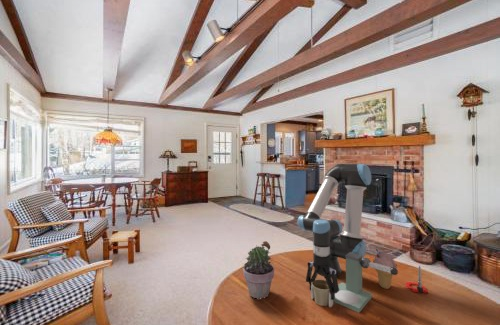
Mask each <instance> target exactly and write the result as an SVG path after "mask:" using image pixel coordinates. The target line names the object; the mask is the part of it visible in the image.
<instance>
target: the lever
mask: <svg viewBox="0 0 500 325" xmlns="http://www.w3.org/2000/svg"><path fill="white" fill-rule="evenodd" d="M360 265H361V266H362V269H368V268H372V269H374V270H375V269H378V270H382V271H385V272H389V273H391V274H392V276H397V275H398V273H399V271H398V269H397V268H395V267H388V266H384V265H381V264H377V263H373V261H371V260H370V258H368V257H364V258H363V259H362V260H361V261H360Z"/></svg>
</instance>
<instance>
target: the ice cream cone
mask: <svg viewBox="0 0 500 325" xmlns="http://www.w3.org/2000/svg"><path fill="white" fill-rule="evenodd" d="M375 251H376V252H377V253H376V254H375V256H374V259H373V261H372V262H373V263H377V264H381V265H384V266H388V267H395V268H396V269H397V268H398V266H397V262H396V261H395V259H393V257H395V256H394V255H392V254H390V253H387V252H382V251H381V252H380V251H379V249H377V248H376V249H375ZM374 271H376V273H377V279H378V284H379V286H380V287H381V288H383V289H387V290H388V289H390V288H391V287H392V286H391V285H392V281H393V280H392V279H393V275H392V274H391V273H389V272H385V271H382V270H378V269H375V268H374Z"/></svg>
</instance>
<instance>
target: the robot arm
mask: <svg viewBox="0 0 500 325" xmlns="http://www.w3.org/2000/svg"><path fill="white" fill-rule="evenodd" d="M371 182H372V172H371V169H370V167H369V166H368V164H364V163H363V164H362V163H339V164H336V165H334V166H332V167H331V168H329V169H328V171H327V172H326V173H325V174H324V176H323V178H322V183H321V185H320V186H319V189H318V191H317V193H316V194H315V196H314V198H313V200H312V201H311V204H310V206H309V207H308V209H307V212H306V213H305V215H303V214H301V215H299V217H298V218H297V222H296V223H297V227H298V228H299V229H300V230H303V231H306V232H310V233H311V232H312V235H313V236H312V237H313V238H312V240H313V242H312V245H313V246H312V247H313V248H312V249H313V254H312V255H313V256H312V259H313V261H312V260H310V261H308V262H307V270H306V277H305V282H306V283H308V284H309V291H310V299H312V300H315V297H314V290H313V286H312V282H313V281H314V280H316V279H317V276H318V275H321V276H323V278H324V280H326V282H327V284H328V287H329V289H330V292H329V304H328V308H332V307H333V306H334V302H333V300H334V299H335V293H337V292H338V291H339V287H338V285H339V283H338V276H340V275H341V273H342V268H341V264H340V261H339V258H340V259H343V260H346V258H345V255H346V254H348V253H349V252H352V253H356V254H360V255H363V258H365V255H366V252H367V243H366V241H364V240H363V238H364V237H363V235H361V227H362V213H363V203H364V202H363V200H364V191H366V190H367V187H368V186H370V185H371ZM340 184H344V187H345V188H346V199H345V211H344V221H343V224H342V222H341V221H340V220H338V219H336V218H335V219H334V218H333V219H332V218H331V219H329V220H328V219H324V218H321V217H322V215H323V213H324V211H325V209H326V206H327V205H328V203H329V201H330V199H331V197H332V194H333V192H334V191H335V188H337V187H339V185H340ZM363 258H362V259H363ZM313 268H314V270H313ZM312 273H313V274H312Z"/></svg>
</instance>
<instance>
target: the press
mask: <svg viewBox="0 0 500 325" xmlns="http://www.w3.org/2000/svg"><path fill="white" fill-rule="evenodd" d="M345 258H346V259H345V283H344V282H340V283H338V287H339V291H338V292H337V293H335V299H334V300H333V303H335V304H337V305H340V306H342V307H344V308H347V309H349V310H352V311H354V312H356V313H358V314H360V313H361V311H362V310H363V309H364V308H365V306H367V304H368V303H369V301H370V300H372V298H373V293H371V292H369V291H367V290H364V289H363V267H362V266H361V265H360V261H361V260H362V258H363V255H360V254H356V253H352V252H349V253H348V254H346V255H345Z"/></svg>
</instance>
